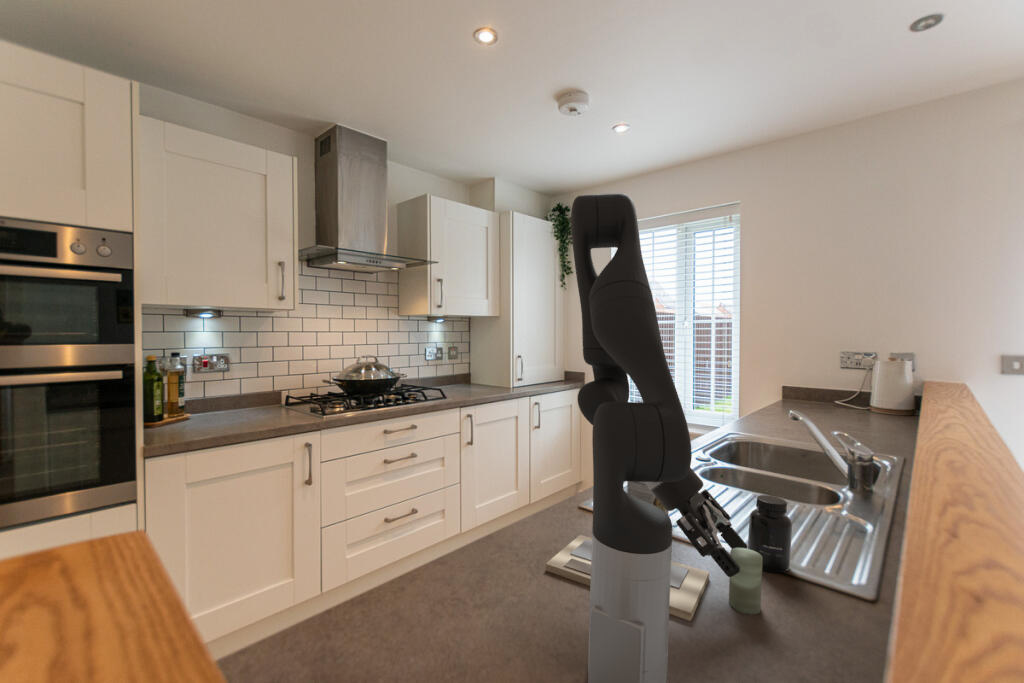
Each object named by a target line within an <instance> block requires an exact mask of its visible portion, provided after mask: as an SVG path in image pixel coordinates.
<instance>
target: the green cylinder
mask: <svg viewBox="0 0 1024 683" xmlns="http://www.w3.org/2000/svg"><path fill="white" fill-rule="evenodd" d="M729 554H730V556H731V557H732V558H733V559H734V561H735V562H736V563H737V564H738V565H739V567H740V571H739V573H737V574H736V575H734V576H732V577H729V580H728V582H729V585H728V604H729V605H730V607H731V608H732V609H733V610H735V611H738V612H739V613H742V614H746V615H758V614H759V613H761V609H762V608H761V607H762V586H763V584H762V583H763V580H762V579H763V570H762V560H763V558H762V556H761V555H760V554H759V553H757V552H755V551H753V550H750V549H748V548H747V549H746V548H733V549H730V553H729Z"/></svg>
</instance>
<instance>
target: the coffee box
mask: <svg viewBox="0 0 1024 683" xmlns="http://www.w3.org/2000/svg"><path fill="white" fill-rule="evenodd" d="M626 482H627V485H626V487H627V488H626V492H627V493H628V494H630V495H631V496H633V497H635V498H637V499H640V500H642V501H645V502H648V503H650V504H652V505H655V506H656V507H658V508H660V509H661V510H663V511H664V512H665V513H666V514H667V515H668V516H669V512H670V511H668V510H666V509H665V507H664V506H663V505H662V504H661V502H660V501H659V500H658V499H657V497H656V496H655V495H654V494H653V492H652V491H651V490H650V489H649V487H648V486H647V485H646V484H645V482H635V481H626Z"/></svg>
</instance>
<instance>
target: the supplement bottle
mask: <svg viewBox="0 0 1024 683" xmlns="http://www.w3.org/2000/svg"><path fill="white" fill-rule="evenodd" d="M787 505H788V502H787V501H786V500H784V499H782V498H780V497H778V496H773V495H769V494H768V495H767V494H761V495H758V496H757V497H756V503H755V507H756V509H753V510H752V511H751V512H750V514H749V521H748V536H747V537H748V538H747V539H748V540H747V549H750V550H753V551H755V552H757V553H759V554H760V555H761V556H762V558H763V560H762V571H765V572H769V573H776V574H779V573H780V574H781V572H783V573H785V572H784V571H786V570H787V569H788V570H789V569H790V564H791V550H792V549H791V548H792V537H793V536H792V534H793V523H792V520H791V518H790V517H789V516H788V515H787V513H788V510H787V507H788V506H787ZM788 570H787V571H788ZM787 571H786V572H787Z"/></svg>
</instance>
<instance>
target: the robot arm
mask: <svg viewBox="0 0 1024 683" xmlns="http://www.w3.org/2000/svg"><path fill="white" fill-rule="evenodd" d="M635 206H636V205H635V202H634V200H633V199H632V198H631V197H630V196H629V195H628V194H626V193H622V192H621V193H620V192H614V193H610V192H609V193H596V194H593V193H592V194H591V193H590V194H581V195H578V196H576V197H575V198H574V199H573V202H572V205H571V214H570V228H571V229H570V230H571V240H572V250H573V259H574V260H573V261H574V269H575V276H576V282H577V284H576V285H577V288H578V289H577V290H578V295H579V296H578V297H579V303H580V312H581V322H582V323H581V326H582V327H581V328H582V329H581V330H582V331H581V333H582V338H581V339H582V357H583V360H584V362H585V364H586V365H589V366H591V368H592V373H593V381H589V382H587V383H585V384H584V385H583V386H582V387H580V389H579V391H578V393H577V405H578V408H579V410H580V412H581V414H582V415H583V417H584V418H585V419H586V421H588V423H590V424H591V426H592V434H591V435H592V441H591V442H592V444H591V445H592V469H593V470H592V474H593V478H592V479H593V480H592V482H593V486H592V487H593V489H592V526H591V527H592V532H591V533H592V534H591V535H592V536H591V538H592V557H591V586H589V589H590V592H589V594H590V595H589V596H590V598H589V620H588V621H589V622H588V623H589V624H588V625H589V627H588V656H587V657H588V662H587V669H588V670H587V674H588V677H587V683H667V682H668V676H667V675H668V663H669V662H668V658H669V655H668V654H669V652H668V651H669V630H670V629H669V627H670V624H669V623H670V614H669V604H670V576H671V561H672V553H673V552H672V550H673V545H672V542H673V524H672V519H671V518H670V516H669V514H668V515H667V514H666V513H665V512H664V511H663V510H661V509H660V508H658V507H656V506H655V505H652V504H650V503H648V502H645V501H642V500H640V499H637V498H635V497H633V496H631V495H630V494H628V493H627V491H626V490H624V489H625V488H624V483H625V482H627V481H635V482H645V484H646V485H647V486H648V487H649V489H650V490H651V491H652V492H653V494H654V495H655V496H656V497H657V499H658V500H659V501H660V502H661V504H662V505H663V506H664V507H665V509H666V510H668V511H669V512H672V511H674V510H678V512H679V513H680V515H681V517H680V518H678V519H677V520H676V521H675V522H676V525H677V526H678V528H679V529H680V530H681V531H682V533H683V534H684V535H685V536H686V537H687V539H688V541H690V543H691V544H692V545H693V547H694V548H695V550H696V551H697V552H698V553H699V555H700V556H701V557H703V558H705V557H706V556H708V557H711V558H712V559H713V560H714V562H715V563H716V564H717V566H719V568H720V569H721V571H723V573H724V574H725V575H726V576H727V577H728V578H730V577H732V576H734V575H736V574H737V573H739V571H740V567H739V565H738V564H737V563H736V562H735V561H734V559H733V558H732V557H731V556H730V553H729V552H728V551H727V549H725V547H724V546H723V545H722V543H721V540H720V539H719V538H718V536H717V535H718V534H720V536H721V538H722V539H723V541H725V543H726V544H727V545H728V546H729V547H730V548H731V549H733V548H746V549H748V544H747V543H746V542H745V541H744V539H742V537H741V536H740V535H739V534H738V533H737V531H736V530H735V529H734V528H733V527H732V523H731V521H730V520H731V516H730V514H729V513H728V512H727V511H726V510H725V509H724V508H723V507H722V506H721V505H720V503H719V501H717V500H716V499H715V498H714V496H713V495H712V494H711V493H710V492H709V491H708V490H707V489H705V488H704V489H703V490H702V488H703V487H704V481H703V480H702V479H701V478H700V477H699V475H697V473H696V472H695V471H694V469H693V468H692V467H691V464H692V456H693V455H692V453H693V452H692V444H691V443H692V441H691V436H690V431H689V428H688V427H689V426H688V422H687V419H686V415H685V413H684V409H683V406H682V403H681V400H680V396H679V394H678V391H677V388H676V386H675V383H674V379H673V377H672V373H671V370H670V367H669V365H668V361H667V358H666V355H665V354H666V353H665V350H664V345H663V342H662V338H661V332H660V327H659V326H660V325H659V321H658V316H657V310H656V306H655V300H654V297H653V293H652V289H651V286H650V282H649V278H648V276H647V275H648V274H647V271H646V267H645V264H644V258H643V255H642V247H641V241H640V233H639V231H640V230H639V225H638V224H639V222H638V216H637V211H636V207H635ZM606 248H607V249H609V248H617V249H616V252H615V253H614V254H613V257H612V258H611V259H610V260H609V261H608V262H607V264H606V266H604V268H603V269H602V270H601V271H600V273H599V275H598V274H597V271H596V269H595V268H596V267H595V265H594V262H593V258H592V249H606ZM628 376H629V377H628ZM629 378H630V379H631V380H632V382H633V384H634V385H635V388H636V389H637V391H638V392H639V395H640V397H641V400H642V402H637V401H636V402H635V401H634V402H633V401H629V399H630V382H629ZM701 490H702V491H701ZM699 491H700V492H699ZM731 549H730V550H731Z"/></svg>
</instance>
